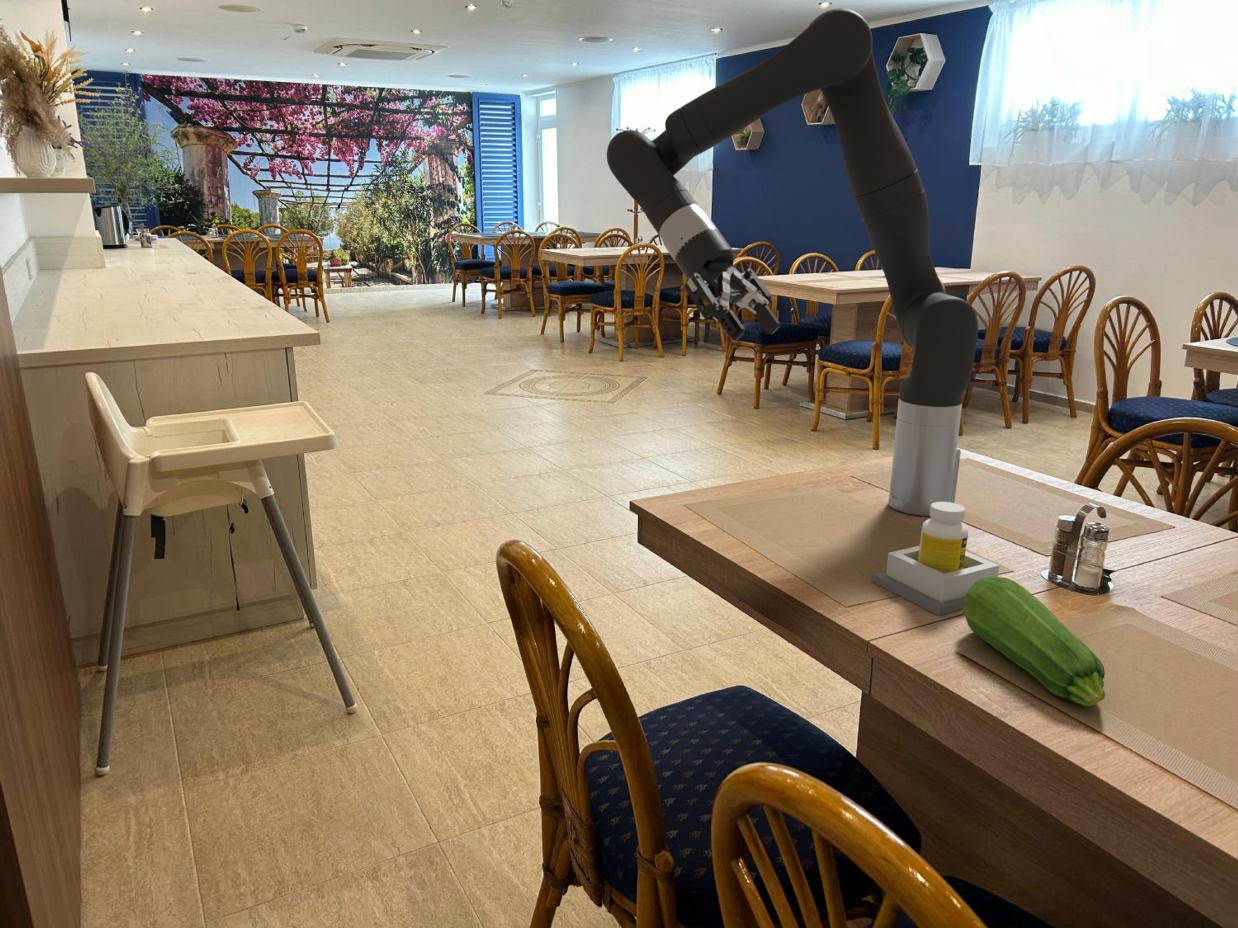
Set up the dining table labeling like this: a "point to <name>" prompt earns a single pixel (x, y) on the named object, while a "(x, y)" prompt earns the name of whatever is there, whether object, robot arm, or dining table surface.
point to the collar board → (932, 580)
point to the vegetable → (1034, 639)
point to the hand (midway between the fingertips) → (758, 333)
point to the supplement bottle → (944, 538)
